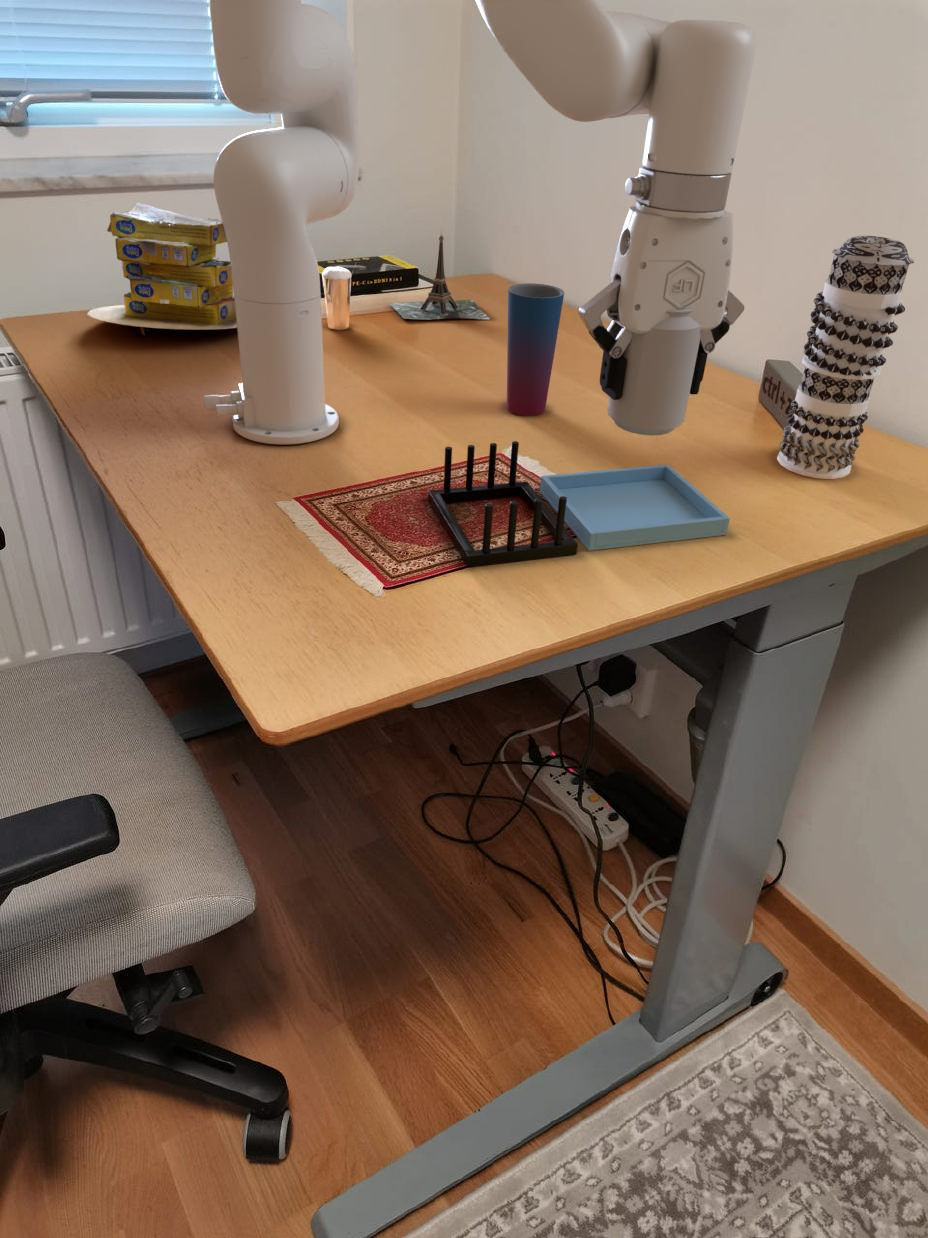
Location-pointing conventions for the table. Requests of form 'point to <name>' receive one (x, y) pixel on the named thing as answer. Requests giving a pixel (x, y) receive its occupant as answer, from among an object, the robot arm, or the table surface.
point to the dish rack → (542, 513)
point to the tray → (633, 507)
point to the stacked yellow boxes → (171, 272)
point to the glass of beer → (337, 296)
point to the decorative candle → (844, 356)
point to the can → (658, 376)
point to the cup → (531, 345)
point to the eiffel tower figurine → (439, 300)
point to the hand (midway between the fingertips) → (649, 391)
